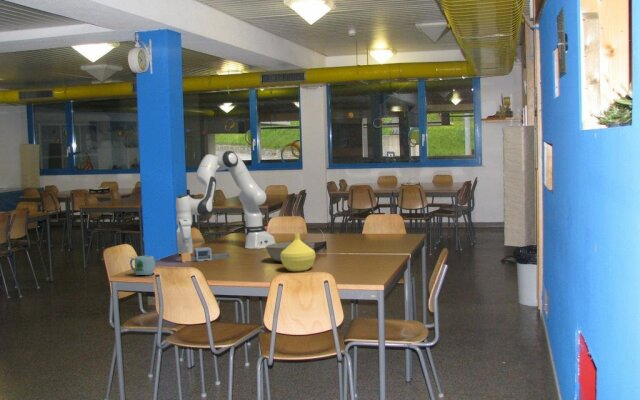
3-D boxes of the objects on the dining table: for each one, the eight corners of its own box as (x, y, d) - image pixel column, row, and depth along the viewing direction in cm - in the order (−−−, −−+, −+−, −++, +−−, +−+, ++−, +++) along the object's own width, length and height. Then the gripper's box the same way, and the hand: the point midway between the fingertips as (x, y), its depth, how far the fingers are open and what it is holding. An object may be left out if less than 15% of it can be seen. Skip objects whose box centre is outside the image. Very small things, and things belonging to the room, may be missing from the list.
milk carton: (188, 254, 427) (186, 225, 426) (178, 255, 429) (176, 225, 427) (192, 253, 434) (190, 223, 433) (182, 253, 436) (180, 224, 434)
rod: (228, 257, 408) (228, 252, 408) (229, 258, 406) (229, 253, 405) (190, 261, 402) (190, 256, 402) (190, 262, 399) (190, 257, 399)
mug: (124, 276, 359) (123, 258, 358) (137, 272, 369) (135, 254, 368) (148, 277, 353) (146, 258, 352) (160, 273, 363) (159, 254, 363)
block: (190, 260, 403) (189, 252, 402) (191, 261, 398) (190, 253, 398) (181, 261, 401) (181, 253, 401) (182, 262, 397) (182, 254, 396)
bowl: (304, 265, 365) (303, 247, 365) (258, 264, 375) (257, 247, 374) (321, 256, 391) (320, 239, 390) (278, 256, 401) (277, 240, 400)
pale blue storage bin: (209, 258, 409) (208, 246, 408) (212, 260, 400) (211, 248, 400) (194, 259, 406) (193, 248, 405) (196, 261, 397) (196, 250, 397)
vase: (288, 266, 362) (286, 231, 361) (320, 266, 357) (318, 231, 356) (276, 273, 345) (274, 236, 344) (310, 273, 340) (308, 235, 338)
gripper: (176, 220, 407) (178, 243, 408) (180, 223, 388) (182, 247, 389) (187, 220, 409) (188, 242, 410) (191, 222, 390) (193, 246, 391)
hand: (185, 244), depth 399 cm, fingers open, 8 cm apart
